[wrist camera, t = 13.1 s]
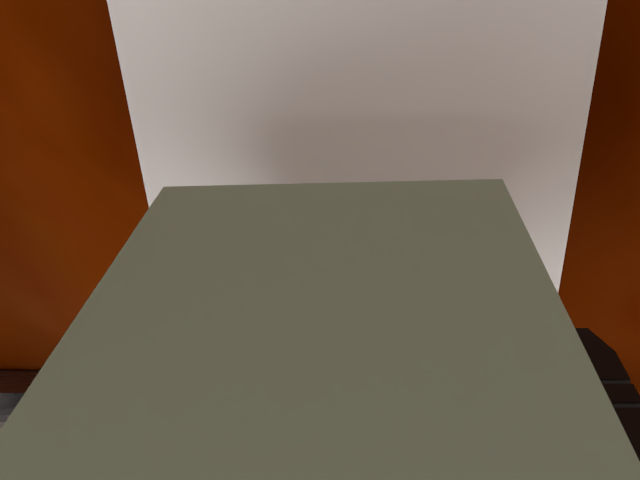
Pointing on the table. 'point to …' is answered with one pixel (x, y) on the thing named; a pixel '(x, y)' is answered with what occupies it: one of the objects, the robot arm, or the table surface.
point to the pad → (365, 95)
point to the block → (321, 347)
